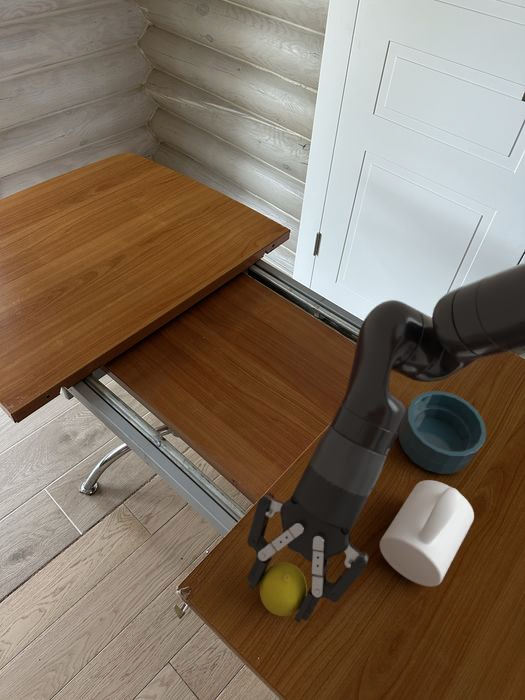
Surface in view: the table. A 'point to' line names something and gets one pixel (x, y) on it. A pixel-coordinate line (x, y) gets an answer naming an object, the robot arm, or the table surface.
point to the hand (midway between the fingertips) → (275, 601)
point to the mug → (427, 532)
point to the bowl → (442, 432)
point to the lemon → (283, 589)
